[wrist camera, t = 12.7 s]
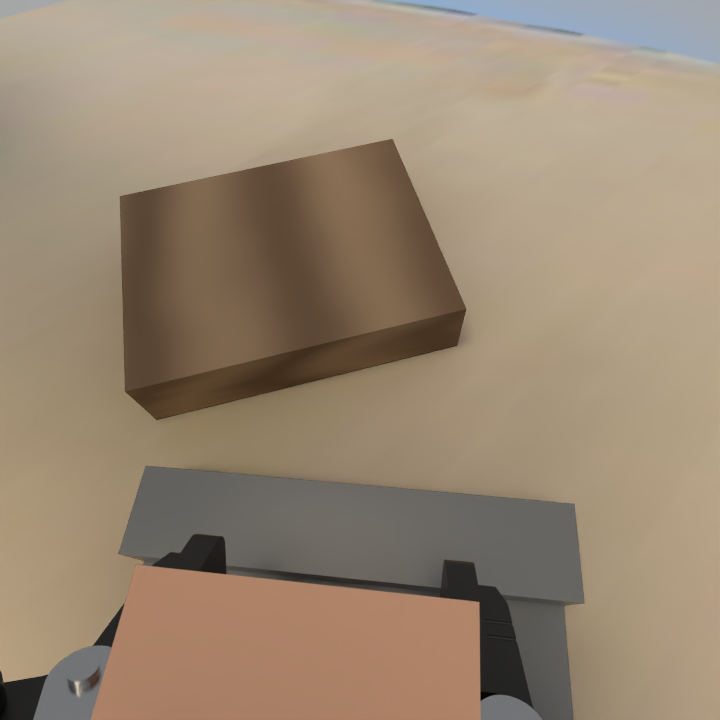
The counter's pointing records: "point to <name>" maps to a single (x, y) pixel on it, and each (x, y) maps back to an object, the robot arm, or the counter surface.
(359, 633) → the tile
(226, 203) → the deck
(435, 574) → the rack
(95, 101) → the counter surface
